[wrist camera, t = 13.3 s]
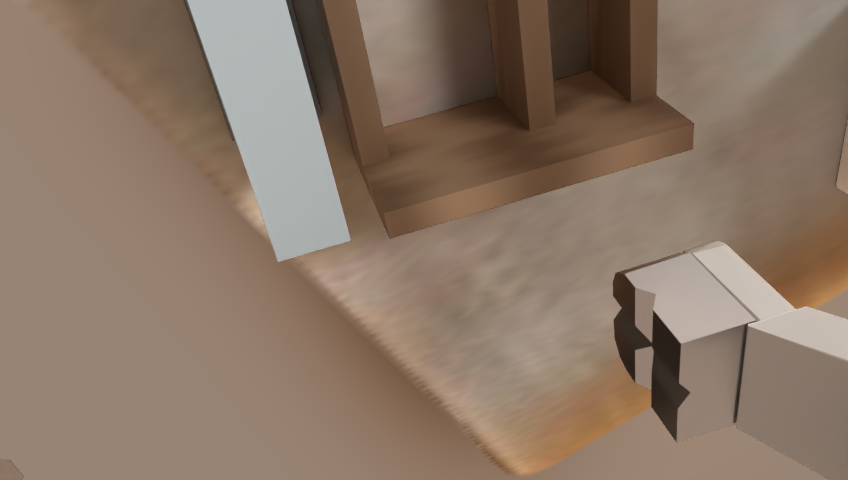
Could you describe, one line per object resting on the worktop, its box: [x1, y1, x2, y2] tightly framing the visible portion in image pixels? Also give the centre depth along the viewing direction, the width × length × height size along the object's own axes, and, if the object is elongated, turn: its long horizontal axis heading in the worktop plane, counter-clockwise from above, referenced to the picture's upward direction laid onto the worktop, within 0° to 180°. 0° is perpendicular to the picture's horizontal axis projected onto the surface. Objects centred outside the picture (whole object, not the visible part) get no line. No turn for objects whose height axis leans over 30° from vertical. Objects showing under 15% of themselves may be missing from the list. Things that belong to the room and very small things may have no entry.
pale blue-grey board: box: [187, 0, 351, 262], centre depth 25 cm, size 2×14×10 cm, turn 10°
